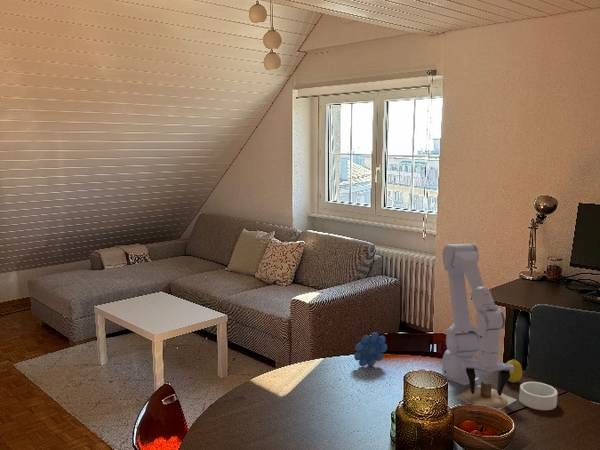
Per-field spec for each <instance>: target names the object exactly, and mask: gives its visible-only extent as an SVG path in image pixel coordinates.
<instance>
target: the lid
mask: <svg viewBox="0 0 600 450" xmlns="http://www.w3.org/2000/svg"><path fill="white" fill-rule="evenodd" d="M480 386H481V387H475V392H474V394H472V393H471V387H469V388H468V389H466V390H464V392H465V398H466V400H467V401H469V402H470V403H472V404H480V405H487V406H491V407H494V408H498V407H502V406H504V405H506V403H507V397H506V396H507V395H506V394H505V393H503V392H502V394H501V396H499V395H498V393H497V389H494V388H492V386H493V383H492V382H491V381H488V380H487V381H486V380H483V381H481V382H480ZM505 395H506V396H505Z"/></svg>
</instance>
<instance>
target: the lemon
mask: <svg viewBox="0 0 600 450" xmlns="http://www.w3.org/2000/svg"><path fill="white" fill-rule="evenodd" d="M505 363H506V364H513V366H514V373H510V378H509V380H508V381H507V382H509V383H513V384H514V383H517V382H519V381H520V380H521V379H522V376H523V367H522V364H521V363H520V362H519V361H517V360H516V359H511V360H507V362H505Z"/></svg>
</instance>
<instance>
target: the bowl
mask: <svg viewBox="0 0 600 450" xmlns="http://www.w3.org/2000/svg"><path fill="white" fill-rule="evenodd" d="M518 399H519V402H520V404H522V405H524V406H525V407H528V408H530V409H533V410H538V411H539V410H540V411H550V410H551V411H552V410H554V409H555V408H557V405H558V390H557V389H556V388H554V387H553V386H552V385H549V384H546V383H544V382H538V381H525V382H523V383H520V384H519V396H518Z"/></svg>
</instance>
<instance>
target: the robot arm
mask: <svg viewBox="0 0 600 450" xmlns="http://www.w3.org/2000/svg"><path fill="white" fill-rule="evenodd" d="M441 254H442V263H443V269H444V271H446V272H447V274H448V275H447V276H448V283H449V293H450V303H451V310H452V317H453V323H452V324H451V325H450V326H449V327H448V328H447V329H446V333H445V335H446V338H445V345H446V350H445V351H444V353H443V355H442V369H441V371H442V372H441V375H442V374H443V375H445V376H446V377H447V378H448V380H450V381H453V382H455V383H457V384H460V385H462V386H467V385H469V386H470V387H469V388H471V393H472V394H474V392H475V386H476V385H475V383H476V381H478V380H479V377H476V371H486V372H490V373H493V372H498V373H497V375H498V377H497V378H498V379H497V387H496V388H497V389H496V390H497V393H498V395H499V396H501V394H502V393H503V390H504V387H505V386H506V384H507V382H509V381H508V380H509V378H510V373H514V366H513V364H506V363H507V362H505V363H504V362H501V361H500V362H499V354H500V352H499V351H500V337H501V330H503V329H504V328H505V324H506V318H505V315H504V311H502V309H500V307H499V306H498V305H496V304H495V301H494V298H493V295H492V294H491V290H490V289H489V287H487V286H484V285H485V284H484V282H483V278H482V275H481V272H480V269H479V265H478V262H479V259H480V258H479V257H480V253H479V247H478V246H477V245H476V243H474V242H470V243H454V244H453V243H447V244H446V245H444V248H443V250H442V252H441ZM466 280H467V281H468V283H469V286H470V287H471V292H470V298H471V302H473V303H472V304H473V306H474V308H475V311H476V314H477V315H476V317H475V323H476V325H474V324H473V323H471V319H470V312H469V311H470V310H469V303H468V294H467V288H466V285H467V284H466ZM475 356H477V360H475ZM445 376H444V377H445ZM447 378H446V379H447Z"/></svg>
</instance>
